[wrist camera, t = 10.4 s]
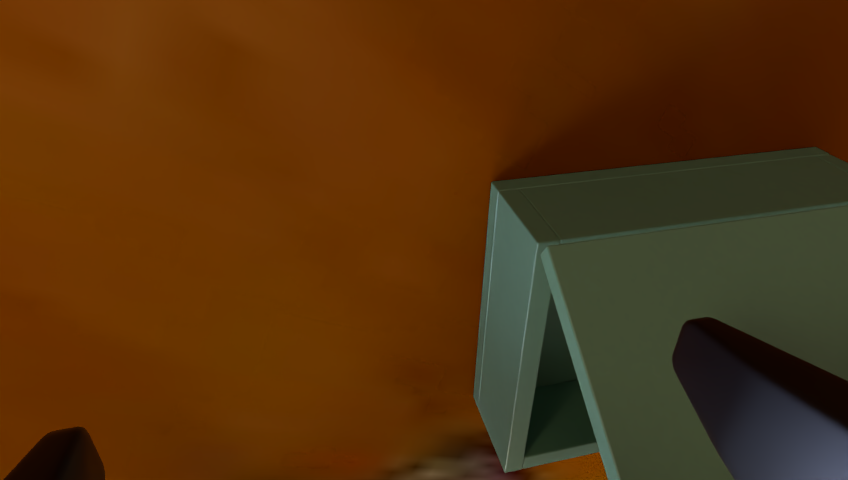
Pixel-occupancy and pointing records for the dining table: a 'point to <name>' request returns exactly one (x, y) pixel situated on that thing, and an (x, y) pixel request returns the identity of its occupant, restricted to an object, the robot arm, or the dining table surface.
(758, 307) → the box lid
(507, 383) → the keepsake box
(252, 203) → the dining table surface
